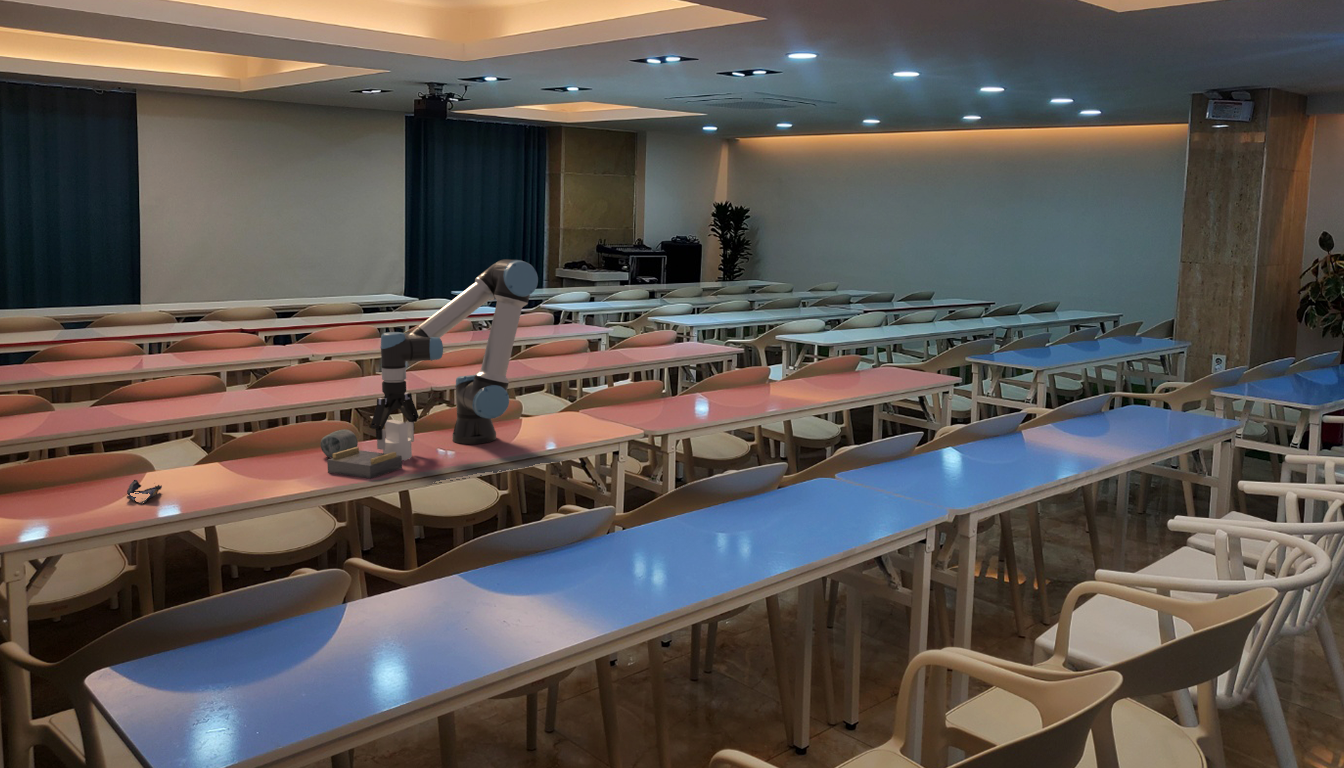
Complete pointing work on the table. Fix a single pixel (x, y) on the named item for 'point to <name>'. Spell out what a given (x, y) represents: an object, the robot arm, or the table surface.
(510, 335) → the robot arm
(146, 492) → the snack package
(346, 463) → the dark grey flat block
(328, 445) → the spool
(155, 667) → the table surface
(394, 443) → the base with upright slab
